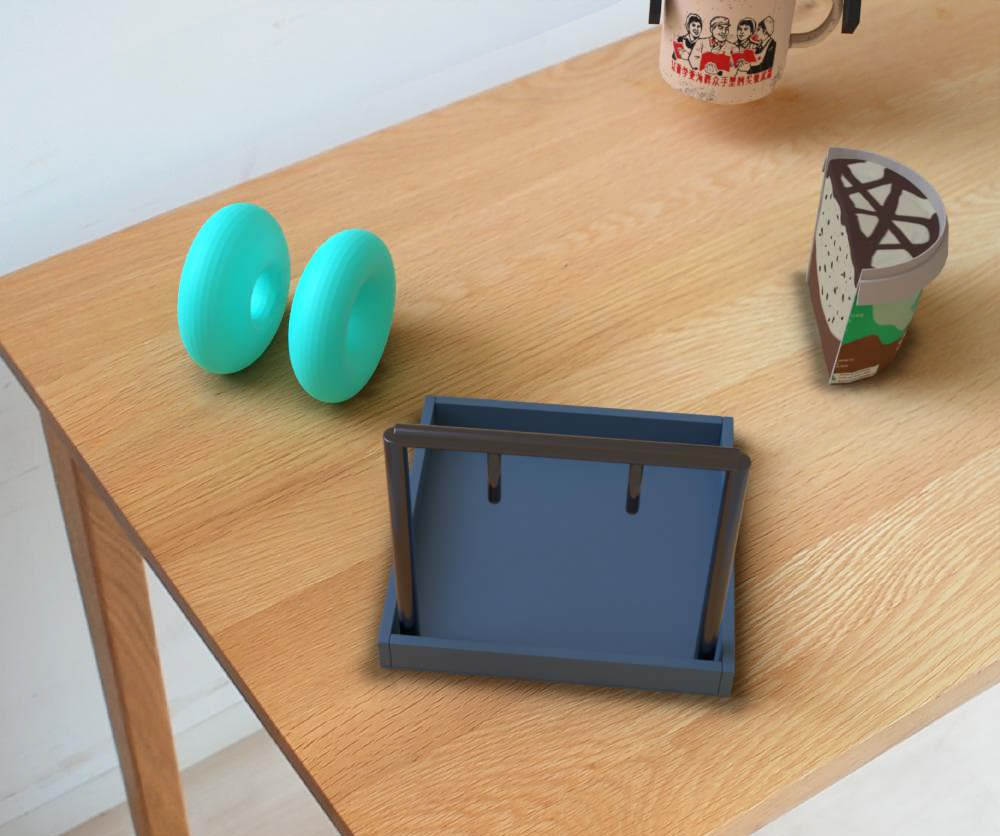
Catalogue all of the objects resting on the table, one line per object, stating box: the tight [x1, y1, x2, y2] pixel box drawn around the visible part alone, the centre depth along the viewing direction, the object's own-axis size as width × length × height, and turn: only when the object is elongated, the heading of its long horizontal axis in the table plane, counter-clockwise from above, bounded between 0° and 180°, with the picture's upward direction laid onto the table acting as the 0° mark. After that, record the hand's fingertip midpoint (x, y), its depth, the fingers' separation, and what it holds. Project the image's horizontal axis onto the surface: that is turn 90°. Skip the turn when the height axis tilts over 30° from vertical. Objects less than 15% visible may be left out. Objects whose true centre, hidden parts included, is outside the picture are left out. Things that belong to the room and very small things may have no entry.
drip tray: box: [376, 394, 736, 698], centre depth 76 cm, size 17×17×3 cm
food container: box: [805, 145, 950, 386], centre depth 85 cm, size 12×6×10 cm, turn 0°
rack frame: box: [382, 422, 753, 661], centre depth 66 cm, size 15×1×16 cm, turn 84°
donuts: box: [176, 202, 397, 404], centre depth 83 cm, size 10×10×10 cm
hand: (751, 23), depth 94 cm, fingers closed on teacup with lid, 12 cm apart
